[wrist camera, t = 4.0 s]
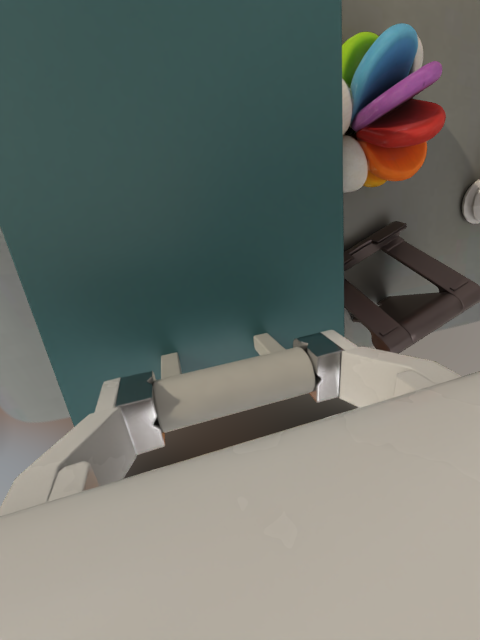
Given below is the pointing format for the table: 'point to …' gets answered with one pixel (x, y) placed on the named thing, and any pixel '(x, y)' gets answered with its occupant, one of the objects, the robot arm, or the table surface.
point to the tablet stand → (407, 310)
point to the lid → (175, 193)
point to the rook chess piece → (472, 203)
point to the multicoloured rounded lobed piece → (386, 107)
